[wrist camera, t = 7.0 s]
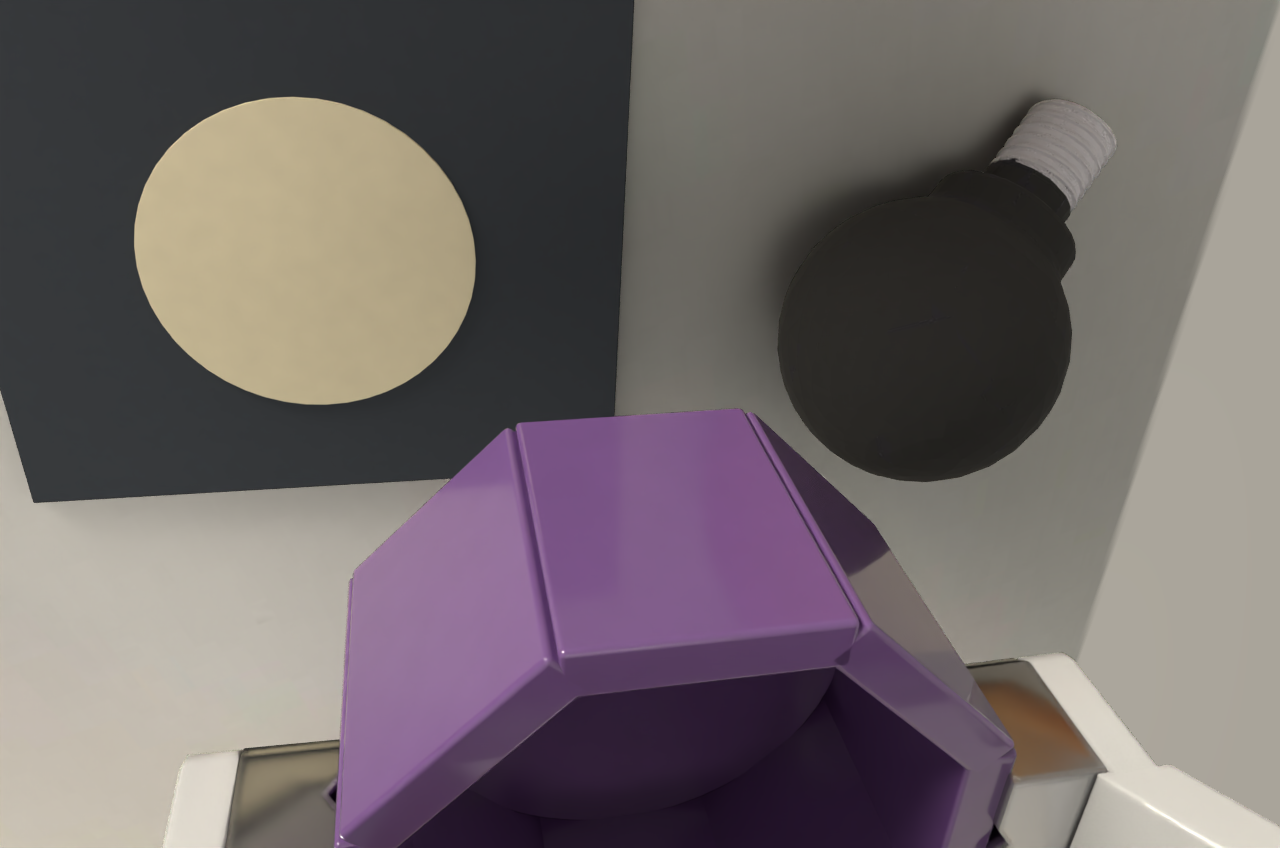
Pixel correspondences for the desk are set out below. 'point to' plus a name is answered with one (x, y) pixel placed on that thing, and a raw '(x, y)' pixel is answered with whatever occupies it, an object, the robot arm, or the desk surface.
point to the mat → (304, 235)
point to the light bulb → (945, 309)
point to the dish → (653, 658)
